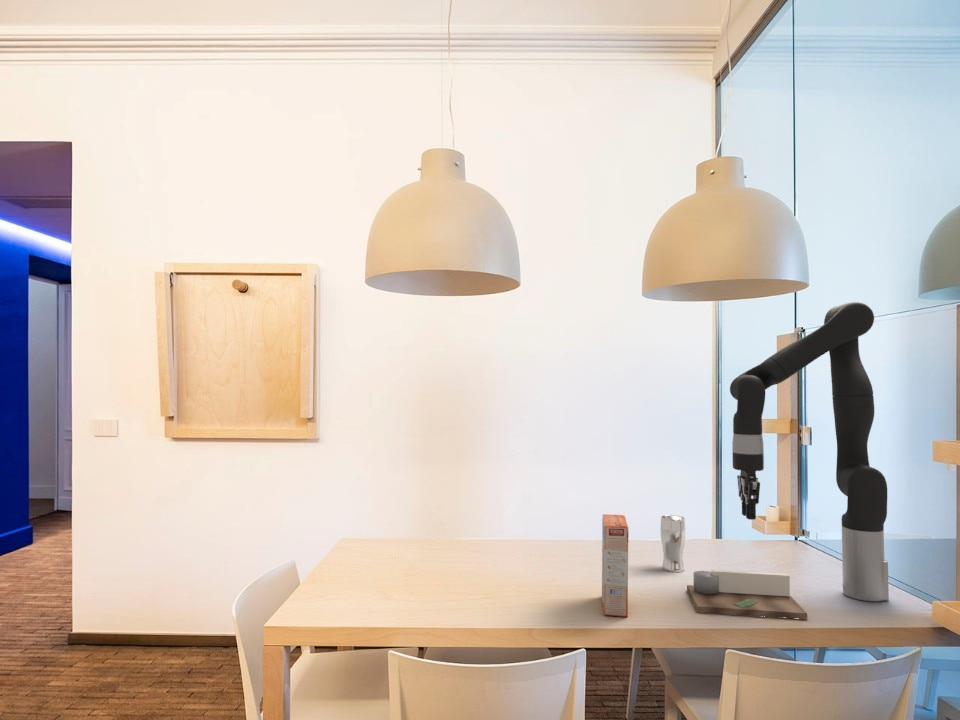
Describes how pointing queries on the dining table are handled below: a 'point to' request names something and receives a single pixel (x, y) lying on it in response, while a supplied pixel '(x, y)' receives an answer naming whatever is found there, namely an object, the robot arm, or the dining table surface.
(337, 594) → the dining table surface
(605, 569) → the cracker box
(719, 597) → the brown wooden board
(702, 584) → the lever handle
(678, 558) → the beer glass
